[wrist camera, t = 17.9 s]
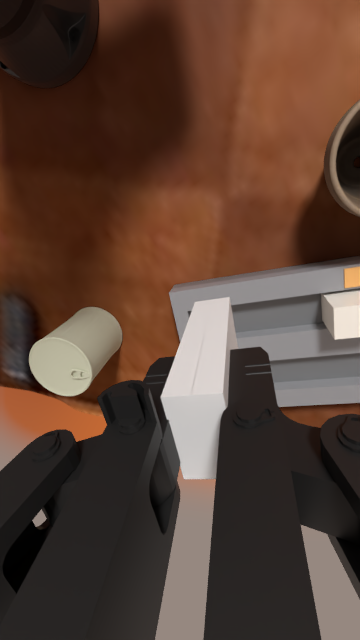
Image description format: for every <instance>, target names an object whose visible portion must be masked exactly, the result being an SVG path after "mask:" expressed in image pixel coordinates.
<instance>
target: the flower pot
mask: <svg viewBox="0 0 360 640" xmlns="http://www.w3.org/2000/svg"><path fill="white" fill-rule="evenodd" d="M357 157H360V100H359V101H358V102H356V103H355V104H354V105H353V106H352V107H351V108H350V109H349V110H348V111H347V112H346V113H345V114H344V116H343V117H342V118H341V119H340V121H339V122H338V124H337V125H336V127H335V129H334V130H333V132H332V134H331V136H330V139H329V141H328V144H327V148H326V151H325V157H324V176H325V180H326V184H327V187H328V189H329V191H330V193H331V195H332V196H333V198H334V199H335V201H336V202H337V203H338V204H339V205H340V206H341V207H342V208H344V209H345V210H346V211H348V212H350V213H351V214H354V215H356V216H359V217H360V167H359V168H356V167H355V166H354V161H355V159H356V158H357Z"/></svg>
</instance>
